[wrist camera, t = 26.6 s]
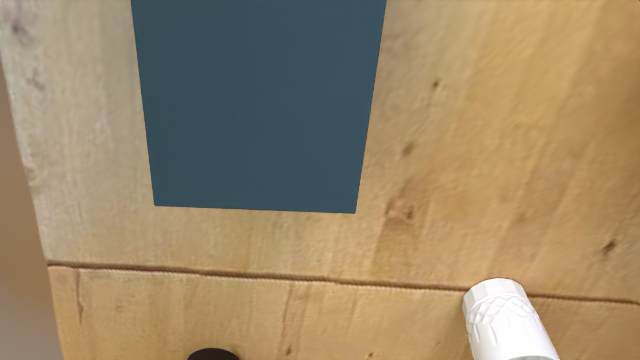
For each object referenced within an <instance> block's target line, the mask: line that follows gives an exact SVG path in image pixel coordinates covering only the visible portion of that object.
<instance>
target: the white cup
mask: <svg viewBox="0 0 640 360" xmlns="http://www.w3.org/2000/svg"><path fill="white" fill-rule="evenodd" d="M462 309H463V313H464V317H465V321H466V328H467V334H468V338H469V343H470V348H471V352H472V356H473V360H560V358H559V356H558V354H557V352H556V350H555V348H554V346H553V344H552V342H551V340H550V338H549V336H548V334H547V332H546V330H545V328H544V326H543V324H542V322H541V320H540V318H539V316H538V315H537V313H536V311H535V309H534V307H533V306H532V305H531V303H530V301H529V300H528V298H527V296H526V294H525V291H524V289H523V287H522V286H521V285H520V284H518V283H517V282H515V281H513V280H511V279H503V278H495V279H490V280H485V281H482V282H480V283H479V284H477V285H475V286H473V287H471V288H470V290H469V291H468V292H467V293H466V294H465V295H464V297H463V303H462Z"/></svg>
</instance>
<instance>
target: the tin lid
mask: <svg viewBox="0 0 640 360" xmlns="http://www.w3.org/2000/svg"><path fill="white" fill-rule="evenodd" d="M386 1H387V0H131V7H132V16H133V25H134V33H135V42H136V51H137V59H138V68H139V77H140V86H141V94H142V103H143V112H144V120H145V129H146V138H147V146H148V155H149V164H150V172H151V181H152V190H153V198H154V205H155V206H171V207H196V208H222V209H248V210H273V211H299V212H325V213H350V214H355V212H356V206H357V199H358V192H359V185H360V178H361V172H362V165H363V158H364V151H365V144H366V137H367V131H368V124H369V117H370V110H371V103H372V97H373V90H374V83H375V76H376V69H377V62H378V56H379V49H380V42H381V35H382V28H383V22H384V15H385V8H386Z"/></svg>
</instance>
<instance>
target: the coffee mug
mask: <svg viewBox="0 0 640 360" xmlns="http://www.w3.org/2000/svg"><path fill="white" fill-rule="evenodd" d="M187 360H239V359H238V358H237V357H236V356H235V355H234V354H232V353H230V352H228V351H226V350H222V349H216V348H208V349H202V350H199V351H196V352H194V353H192V354H191V355H190V356H189V357H188V359H187Z"/></svg>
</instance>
